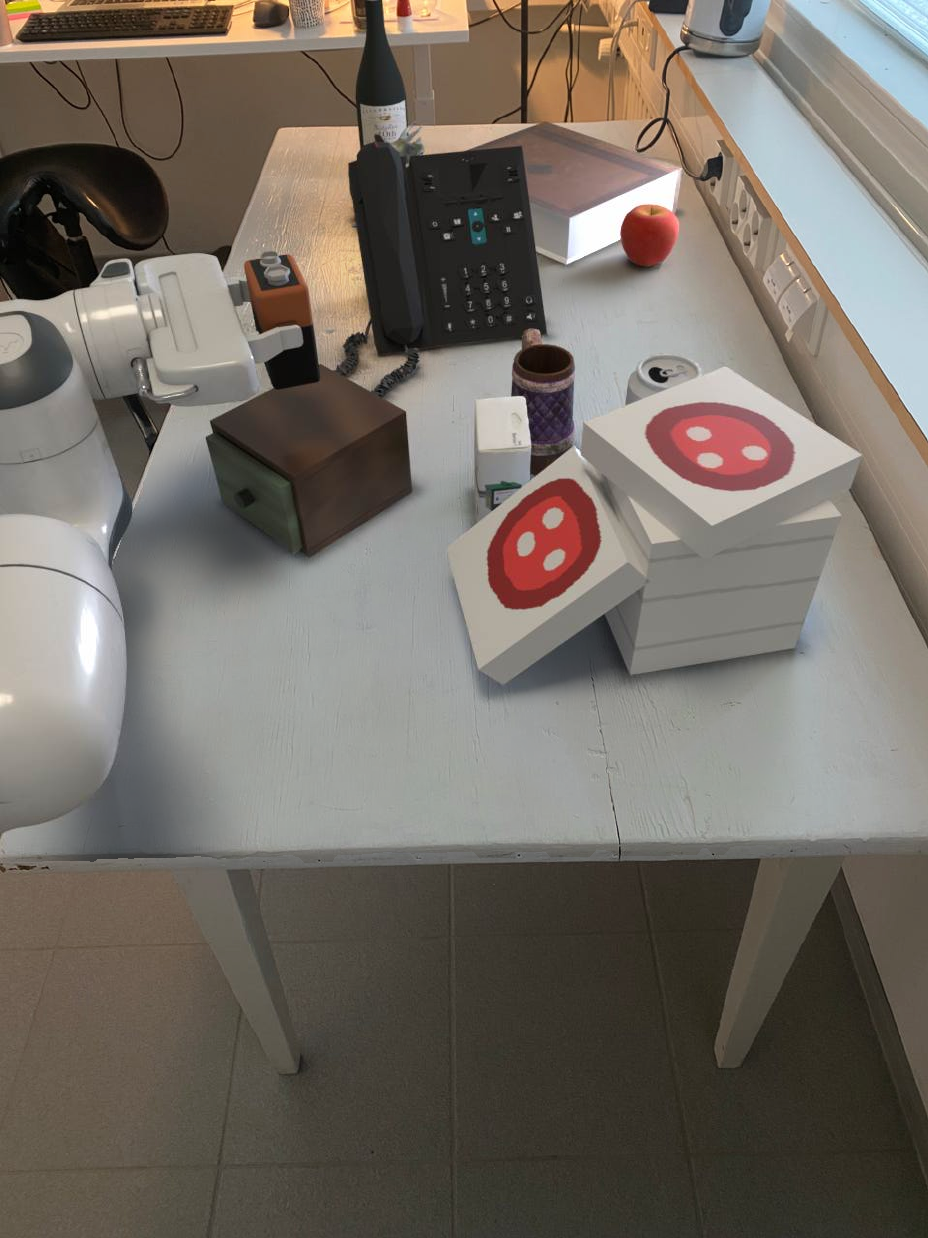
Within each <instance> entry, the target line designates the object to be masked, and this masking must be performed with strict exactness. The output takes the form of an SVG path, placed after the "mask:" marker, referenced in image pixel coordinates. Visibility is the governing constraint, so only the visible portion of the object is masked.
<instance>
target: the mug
mask: <svg viewBox="0 0 928 1238" xmlns="http://www.w3.org/2000/svg"><path fill="white" fill-rule="evenodd" d="M575 378H576V365H575V359H574V356H573V354H572V353H571V352H570V351H569V350H567V349H565V347H564V348H563V347H562V346H559V345H555V344H548V343H543V339H542V334H540V331H539V330H536V329H533V328H531V329H528V330H525V331H523V337H521V349H520V350H519V351H517V352H516V353H515V355H514V358H513V363H512V367H511V379H512V380H511V392H510V397H512V396H523V397H524V398H525V399H526V406H527V417H528V421H529V424H528V425H529V430H530V440H531V456H530V473H533V474H539V473H541V472H542V471H543V470H544V469H546V468H547V467H548V466H549V465H551V464H552V463H553V462H554V461H556V460H557V459H558V458H559V457H561V456H562V455H563V454H564V453H566V452H567V451H568V450H569V449H571V448H572V447H573V443H574V439H575V421H574V400H575V399H574V398H575V397H574V396H575V395H574V394H575Z"/></svg>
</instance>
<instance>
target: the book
mask: <svg viewBox="0 0 928 1238" xmlns="http://www.w3.org/2000/svg"><path fill="white" fill-rule="evenodd" d="M515 146H522V150H523V158H524V165H525V173H526V180H527V188H528V195H529V202H530V210H531V217H532V225H533V232H534V240H535V247H536V253H539V254H541V255H543V256H546V257H548V258H550V259H552V260H555V261H556V262H559V263H561V264H563V265H569V264H571V263H573V262H575V261H578V260H580V259H582V258H583V257H585V256H588V255H590V254H592V253H595V252H597V251H598V250H601V249H603V248H605V247H607V246H609V245H611V244H613V243H616V242H618V241H619V240H620V241H621V239H620V228H621V225H622V222H623V220H624V217H625V216H626V214H627V213H628V212H629V211H630V210H632V209H633V208H634V207H636V206H639V205H642V204H657V205H661V206H664V207H666V208H668V209H670V210H671V211H672V212H673V214H674V215H675V214H677V210H678V209H677V208H678V201H679V196H680V187H681V183H682V182H681V181H682V176H683V175H682V174H683V167H681V166H678V165H675V164H672V163H670V162H666V161H663V160H661V159H658V158H655V157H651V156H649V155H646V154H644V153H639V152H637V151H634V150H631V149H628V148H625V147H622V146H620V145H616V144H613V143H611V142H608V141H604V140H602V139H599V138H595V137H592V136H590V135H587V134H584V133H582V132H578V131H575V130H572V129H569V128H566V127H563V126H561V125H557V124H555V123H552V122H549V121H546V120H545V121H542V122H540V123H537V124H534V125H531V126H529V127H526V128H523V129H521V130H517V131H515V132H512V133H510V134H506V135H503V136H501V137H498V138H496V139H494V140H491V141H488V142H485V143H483V144H480V145H477V146H475V147H472V148H469V149H466V150H465V151H471V150H482V149H493V148H504V147H515Z"/></svg>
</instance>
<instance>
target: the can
mask: <svg viewBox="0 0 928 1238" xmlns="http://www.w3.org/2000/svg"><path fill="white" fill-rule="evenodd" d="M702 371H703V370H702V367H701V366H700V365H699V364H698V363H697V362H696V361H694V360H692V359H691V358H689V357H687V356H684V355H681V354H677V353H676V354H675V353H657V354H655V353H654V354H651V355H649V356H646V357H644V358H642V359H641V360H640V361H639V362H638V364H637V366H636V368H635V370H634V371H633V372H632V373H631V374H630V376H629V378H628V380H627V388H626V396H625V404H624V406H626V405H628V404H631V403H634V402H636V401H639V400H641V399H644V398H646V397H649V396H651V395H654V394H656V393H659V392H661V391H664V390H666V389H669V388H672V387H674V386H677V385H679V384H682V383H684V382H687V381H689V380H692V379H694V378H697V377H699V376H702V375H703V372H702Z"/></svg>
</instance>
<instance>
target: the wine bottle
mask: <svg viewBox="0 0 928 1238" xmlns="http://www.w3.org/2000/svg"><path fill="white" fill-rule="evenodd" d="M383 3H384V2H383V0H364V11H365V27H366V28H365V29H366V30H365V41H364V46H363V51H362V56H361V60H360V63H359V68H358V72H357V76H356V81H355V95H354V96H355V107H356V118H357V119H356V120H357V129H358V140H359V141H358V142H359V150H360V149H361V148H362V146H363V145H366V144H369V143H372V142H375V138H374V136H375V135H374V133H375V134H377V133H378V134H380V135H382V137H383V138H384V139H385V140H386V141H388V142H390V143H392V142H395V141H397V140H398V139H399V138H400V135H401V133H402V132H403V131H404V130H405V129H406V128H407V127H409V118H408V117H409V116H408V102H407V93H406V89H405V83H404V80H403V77H402V74H401V71H400V68H399V67H398V64H397V61H396V59H395V57H394V54H393V51H392V48H391V46H390V43H389V41H388V37H387V33H386V27H385V19H384V4H383ZM408 135H409V132H408V133H407V135H406V137H407V136H408ZM405 139H406V138H405ZM406 169H409V163H408V164H406Z"/></svg>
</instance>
